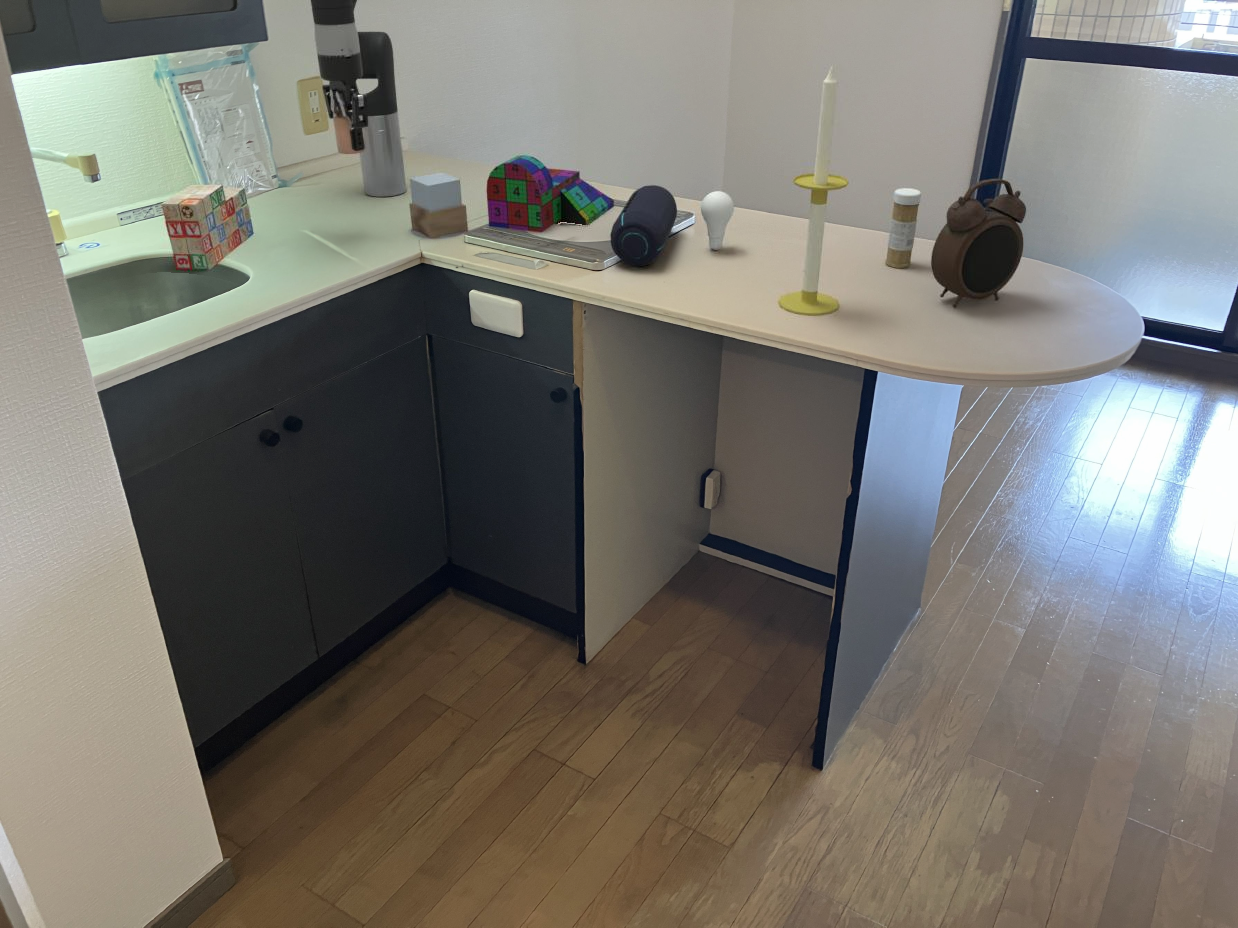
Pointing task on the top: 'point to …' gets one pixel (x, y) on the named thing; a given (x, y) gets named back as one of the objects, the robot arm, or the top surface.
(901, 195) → the sprinkles bottle
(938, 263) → the alarm clock
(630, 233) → the portable speaker
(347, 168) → the top surface
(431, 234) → the walnut base block
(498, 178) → the numbered checker block
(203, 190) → the stack of blocks
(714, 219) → the lightbulb
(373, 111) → the robot arm
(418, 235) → the slate coaster
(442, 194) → the grey-blue top block
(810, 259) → the candle
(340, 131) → the peach rounded cylinder
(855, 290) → the top surface
